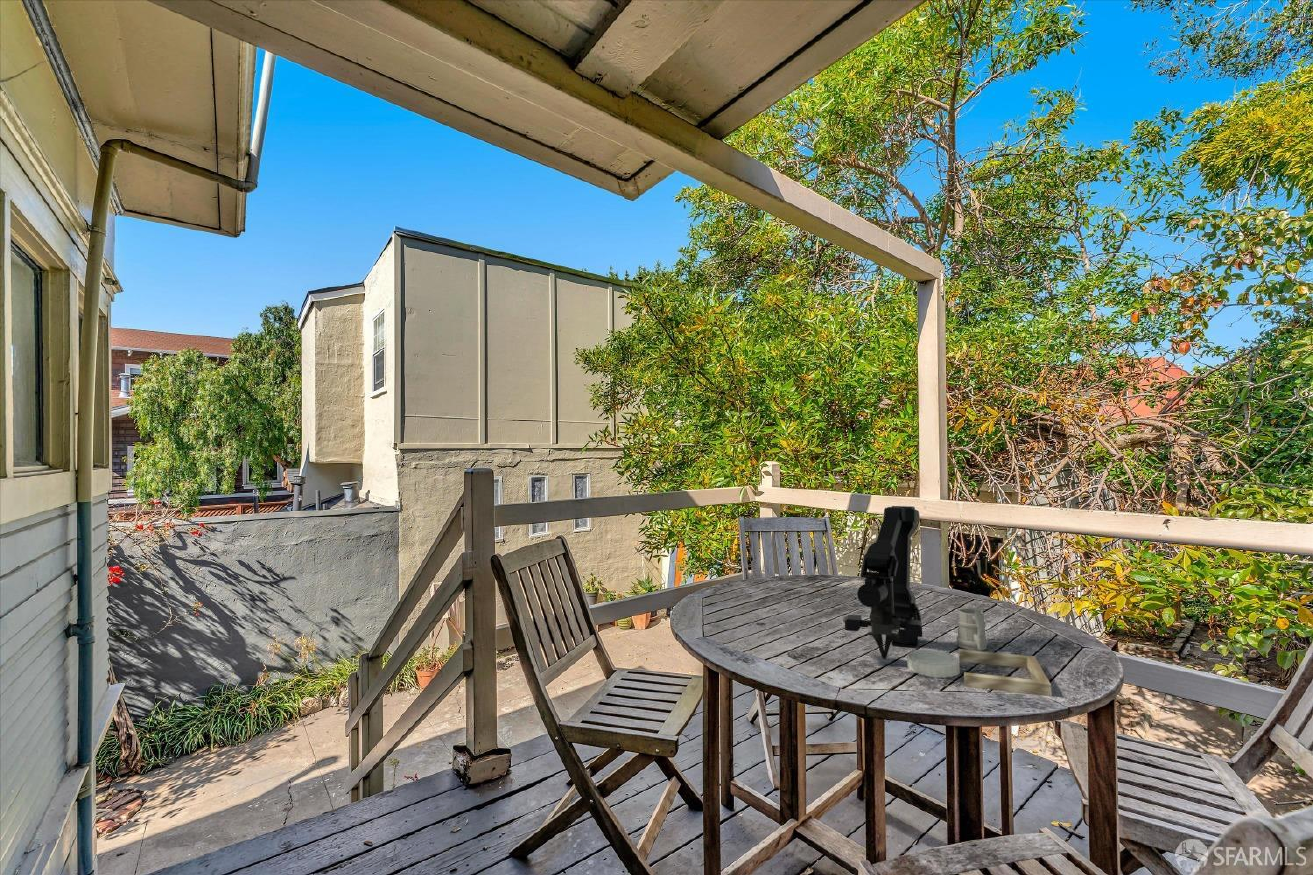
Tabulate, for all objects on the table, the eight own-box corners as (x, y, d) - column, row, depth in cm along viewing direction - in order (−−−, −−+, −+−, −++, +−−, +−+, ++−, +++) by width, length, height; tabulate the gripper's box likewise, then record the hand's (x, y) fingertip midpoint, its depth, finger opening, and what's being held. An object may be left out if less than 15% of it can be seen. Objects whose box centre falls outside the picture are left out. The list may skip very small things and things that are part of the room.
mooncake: (944, 660, 152) (944, 646, 152) (969, 677, 140) (968, 662, 140) (899, 661, 152) (898, 648, 152) (920, 679, 140) (919, 664, 140)
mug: (981, 642, 164) (979, 599, 165) (999, 656, 153) (996, 611, 153) (952, 641, 166) (950, 599, 166) (968, 656, 154) (966, 611, 154)
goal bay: (965, 685, 135) (964, 675, 135) (959, 658, 152) (958, 649, 152) (1051, 696, 128) (1051, 684, 128) (1035, 666, 145) (1034, 656, 146)
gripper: (841, 603, 148) (843, 664, 147) (921, 609, 140) (924, 673, 140) (845, 593, 158) (848, 650, 158) (920, 598, 151) (923, 658, 150)
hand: (884, 658), depth 151 cm, fingers closed
